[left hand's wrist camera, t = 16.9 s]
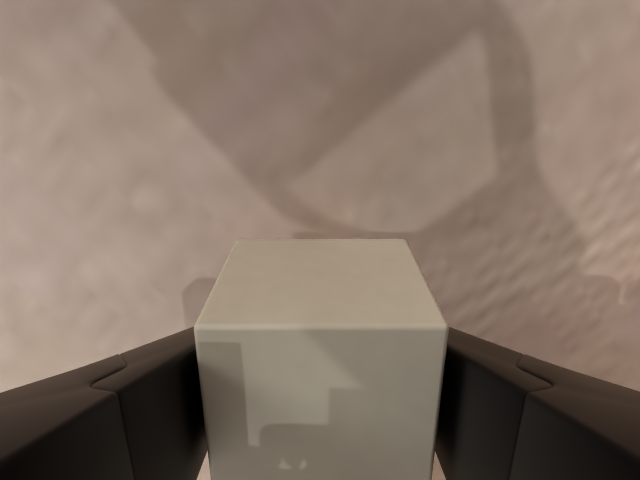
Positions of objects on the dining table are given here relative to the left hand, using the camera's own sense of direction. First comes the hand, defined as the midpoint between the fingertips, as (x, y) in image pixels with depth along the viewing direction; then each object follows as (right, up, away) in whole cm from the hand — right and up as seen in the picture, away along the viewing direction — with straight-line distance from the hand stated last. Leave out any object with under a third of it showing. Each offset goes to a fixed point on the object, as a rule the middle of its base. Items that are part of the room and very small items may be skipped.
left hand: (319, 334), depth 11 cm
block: (0, 0, +1) cm, 1 cm away
